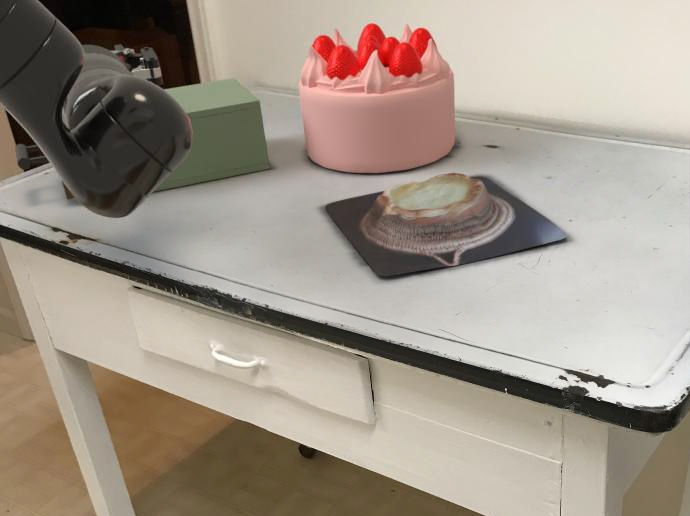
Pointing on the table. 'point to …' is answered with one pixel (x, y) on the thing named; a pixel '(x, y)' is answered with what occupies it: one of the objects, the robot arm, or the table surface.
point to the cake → (377, 102)
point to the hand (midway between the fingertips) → (78, 61)
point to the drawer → (34, 161)
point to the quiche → (439, 224)
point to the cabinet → (220, 133)
